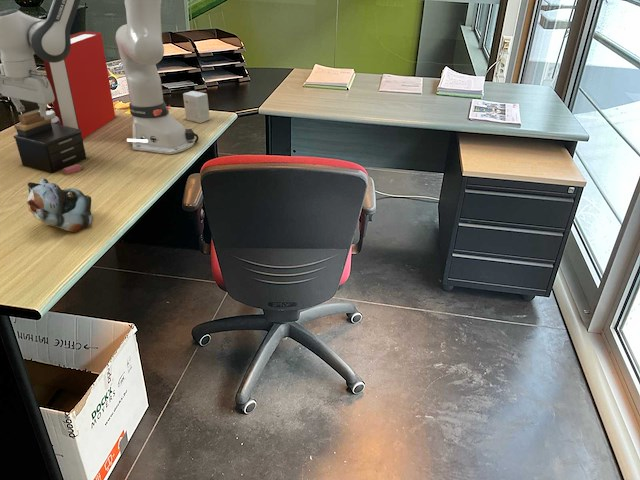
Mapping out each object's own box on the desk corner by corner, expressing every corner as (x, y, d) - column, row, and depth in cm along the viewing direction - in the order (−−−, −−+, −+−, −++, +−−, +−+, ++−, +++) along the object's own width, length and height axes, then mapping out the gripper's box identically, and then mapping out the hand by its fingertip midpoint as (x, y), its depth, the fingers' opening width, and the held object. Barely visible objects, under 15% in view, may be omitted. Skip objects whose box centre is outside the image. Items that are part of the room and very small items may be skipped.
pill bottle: (68, 136, 194) (59, 110, 188) (56, 142, 190) (47, 116, 185) (58, 133, 196) (49, 108, 190) (46, 139, 193) (36, 114, 187)
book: (81, 139, 193) (62, 46, 177) (60, 137, 194) (39, 45, 178) (117, 116, 217) (102, 32, 200) (98, 114, 218) (82, 31, 201)
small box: (210, 119, 216) (207, 93, 211) (200, 123, 212) (197, 96, 207) (195, 116, 220) (192, 90, 214) (185, 119, 216) (182, 93, 210)
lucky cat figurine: (92, 232, 137) (54, 197, 126) (51, 249, 138) (10, 216, 128) (97, 193, 147) (62, 157, 136) (59, 209, 148) (21, 175, 138)
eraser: (78, 168, 172) (77, 164, 171) (81, 169, 171) (80, 165, 170) (64, 172, 169) (63, 168, 168) (67, 174, 167) (66, 170, 167)
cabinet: (88, 159, 178) (82, 129, 173) (53, 174, 167) (45, 143, 162) (58, 151, 183) (51, 122, 178) (21, 165, 172) (13, 135, 167)
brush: (53, 128, 174) (49, 109, 171) (26, 137, 166) (21, 118, 163) (43, 125, 176) (39, 107, 173) (16, 134, 168) (11, 116, 165)
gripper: (53, 70, 160) (64, 116, 167) (6, 62, 167) (18, 106, 174) (35, 75, 155) (47, 121, 162) (-13, 66, 162) (0, 111, 169)
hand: (32, 113), depth 168 cm, fingers open, 8 cm apart
